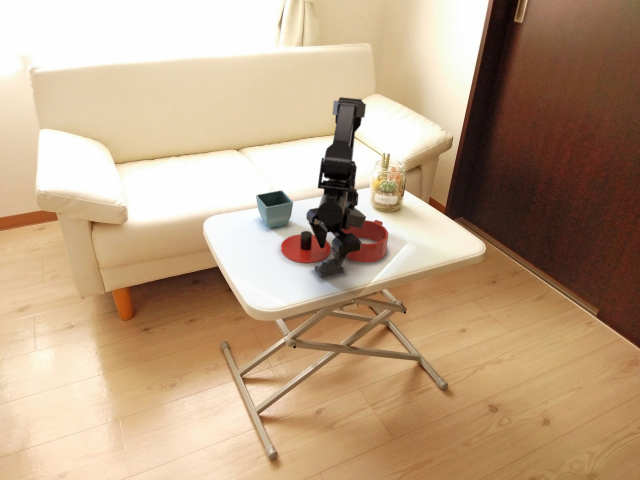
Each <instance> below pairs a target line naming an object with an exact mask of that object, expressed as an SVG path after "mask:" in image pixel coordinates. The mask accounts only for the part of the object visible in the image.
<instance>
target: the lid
mask: <svg viewBox="0 0 640 480" xmlns="http://www.w3.org/2000/svg"><path fill="white" fill-rule="evenodd" d="M280 252H281V253H282V255H283V256H284V257H285V258H287V260H290V261H292V262H295V263H299V264H314V263H318V262H319V263H320V262H322V261H325V260H326V258H328V257H329V256H330V254H331V252H332V249H331V245H330V243H329V242H328V241H327V240H326V243H325V247H324V248H320V246H319V244H318V241H317V239H316V237H315V235H314V234H313V232H311V231H309V230H304V231H301V232H300V234H299V233H298V234H294V235H291V236H288V237H287V238H285V239H284V240H283V241H282V242H281V244H280Z"/></svg>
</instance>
